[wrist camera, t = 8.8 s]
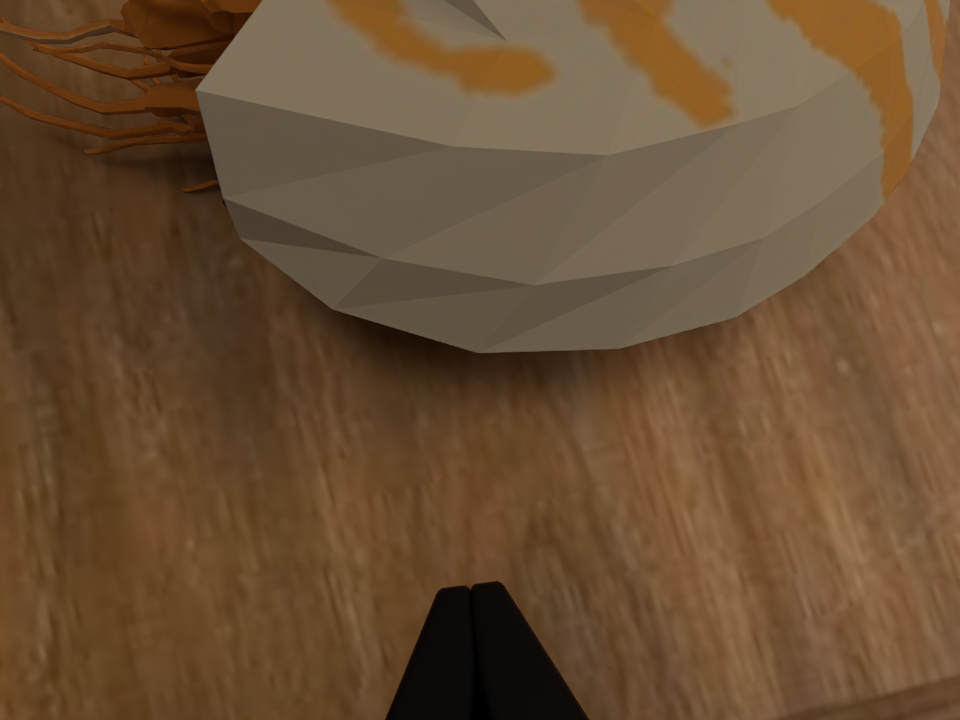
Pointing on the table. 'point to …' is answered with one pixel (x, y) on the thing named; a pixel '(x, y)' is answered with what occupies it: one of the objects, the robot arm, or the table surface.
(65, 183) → the table surface
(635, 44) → the nautilus
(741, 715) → the table surface
